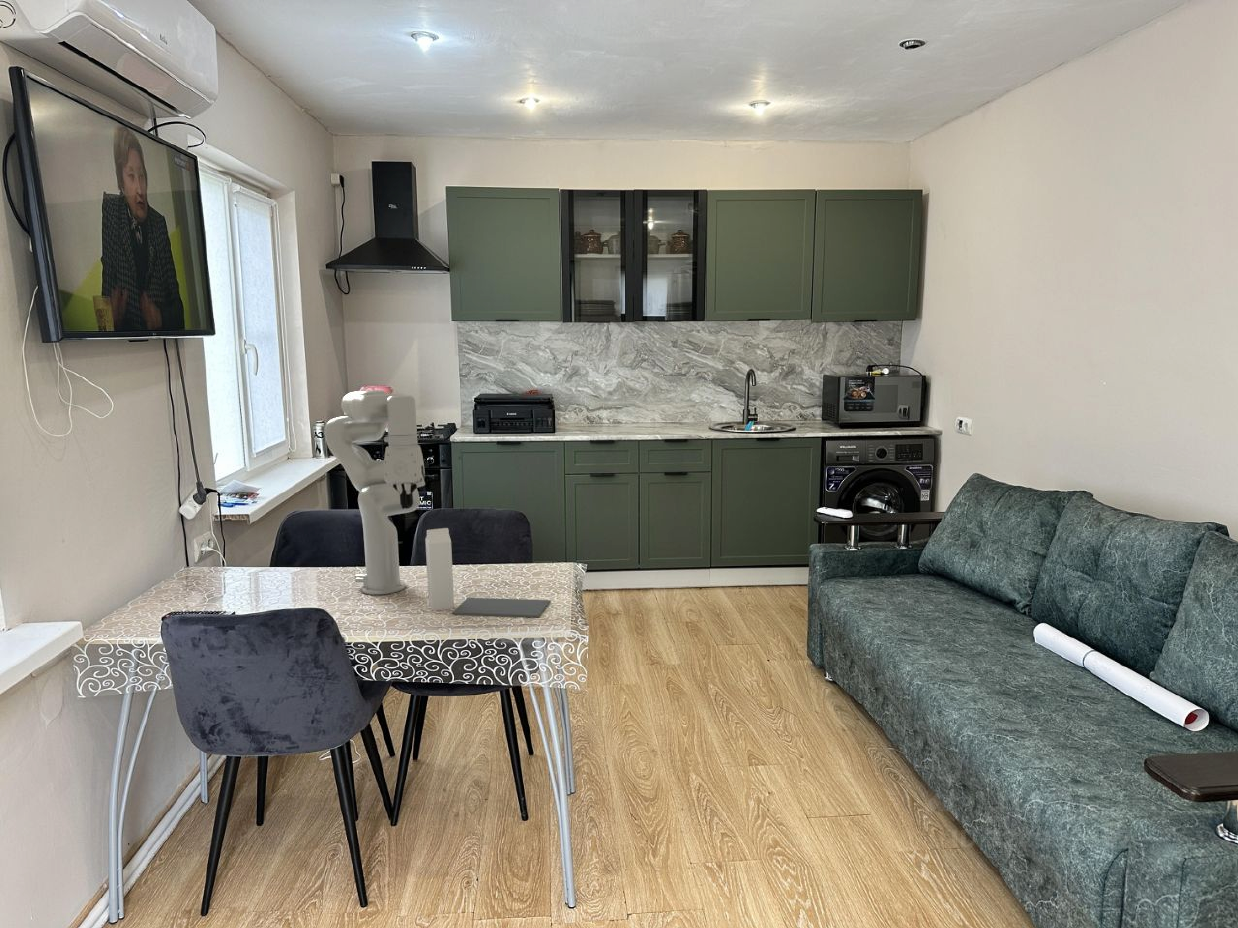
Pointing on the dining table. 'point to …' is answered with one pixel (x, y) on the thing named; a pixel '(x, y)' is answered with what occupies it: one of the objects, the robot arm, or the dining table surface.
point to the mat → (502, 607)
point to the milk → (439, 569)
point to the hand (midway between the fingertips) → (406, 507)
